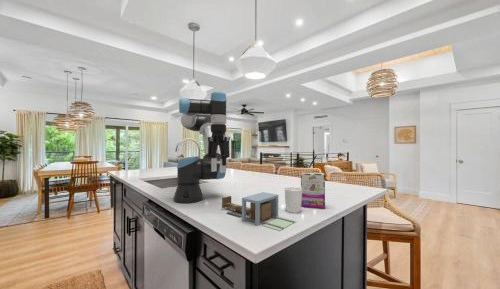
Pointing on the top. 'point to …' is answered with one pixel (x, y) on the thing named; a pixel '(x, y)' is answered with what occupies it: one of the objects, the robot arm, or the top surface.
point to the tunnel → (257, 200)
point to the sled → (264, 208)
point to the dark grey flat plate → (236, 213)
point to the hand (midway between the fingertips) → (218, 171)
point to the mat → (279, 223)
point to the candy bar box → (313, 190)
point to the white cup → (293, 199)
